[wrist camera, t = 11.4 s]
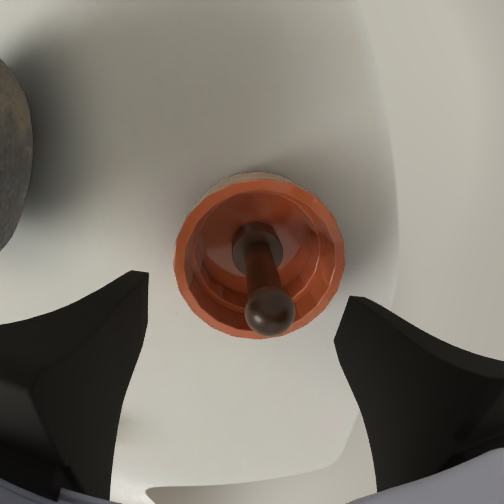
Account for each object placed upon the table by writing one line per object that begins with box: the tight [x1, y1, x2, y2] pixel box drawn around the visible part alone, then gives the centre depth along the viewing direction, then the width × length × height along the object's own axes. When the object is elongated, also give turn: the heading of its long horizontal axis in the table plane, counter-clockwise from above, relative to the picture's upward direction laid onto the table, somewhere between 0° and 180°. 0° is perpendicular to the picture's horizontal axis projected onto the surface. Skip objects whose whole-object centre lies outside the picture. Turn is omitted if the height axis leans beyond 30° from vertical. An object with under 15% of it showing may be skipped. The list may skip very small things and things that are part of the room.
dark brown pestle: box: [232, 222, 295, 337], centre depth 16 cm, size 3×3×10 cm
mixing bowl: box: [173, 171, 345, 339], centre depth 19 cm, size 9×9×4 cm
